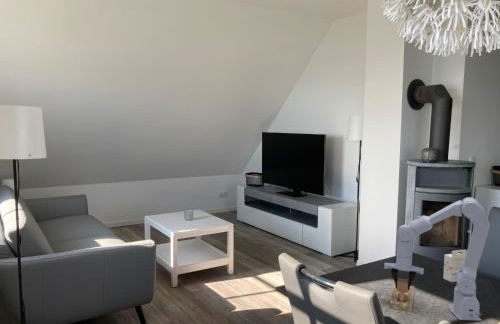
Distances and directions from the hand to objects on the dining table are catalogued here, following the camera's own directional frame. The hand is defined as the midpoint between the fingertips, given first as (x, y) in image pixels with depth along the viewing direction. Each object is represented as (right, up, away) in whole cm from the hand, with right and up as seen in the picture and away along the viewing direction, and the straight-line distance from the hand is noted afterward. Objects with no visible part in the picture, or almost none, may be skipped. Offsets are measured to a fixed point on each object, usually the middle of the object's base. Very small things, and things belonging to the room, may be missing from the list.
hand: (402, 288), depth 163 cm
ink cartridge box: (+34, -4, +27) cm, 43 cm away
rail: (+2, -6, +4) cm, 7 cm away
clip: (0, -5, 0) cm, 5 cm away
